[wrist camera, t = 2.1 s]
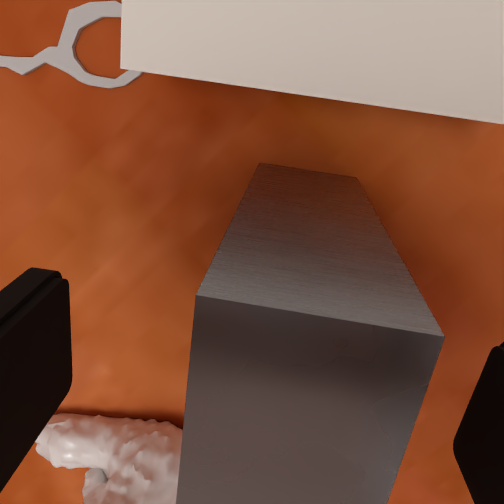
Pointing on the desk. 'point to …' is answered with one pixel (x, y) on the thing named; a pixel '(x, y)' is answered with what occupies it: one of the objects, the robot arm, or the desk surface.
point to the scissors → (66, 51)
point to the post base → (331, 49)
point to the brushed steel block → (304, 351)
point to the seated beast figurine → (116, 456)
